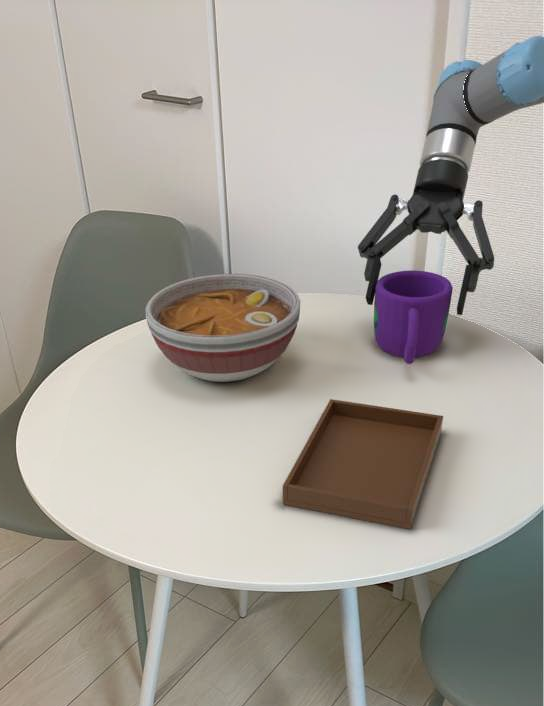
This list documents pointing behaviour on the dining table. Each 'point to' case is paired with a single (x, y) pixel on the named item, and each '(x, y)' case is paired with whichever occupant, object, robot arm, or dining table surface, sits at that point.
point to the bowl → (223, 324)
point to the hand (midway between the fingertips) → (413, 306)
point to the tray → (365, 463)
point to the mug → (411, 313)
